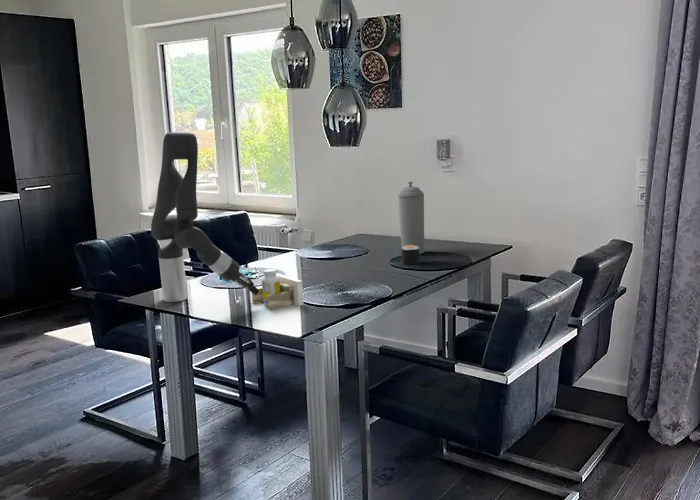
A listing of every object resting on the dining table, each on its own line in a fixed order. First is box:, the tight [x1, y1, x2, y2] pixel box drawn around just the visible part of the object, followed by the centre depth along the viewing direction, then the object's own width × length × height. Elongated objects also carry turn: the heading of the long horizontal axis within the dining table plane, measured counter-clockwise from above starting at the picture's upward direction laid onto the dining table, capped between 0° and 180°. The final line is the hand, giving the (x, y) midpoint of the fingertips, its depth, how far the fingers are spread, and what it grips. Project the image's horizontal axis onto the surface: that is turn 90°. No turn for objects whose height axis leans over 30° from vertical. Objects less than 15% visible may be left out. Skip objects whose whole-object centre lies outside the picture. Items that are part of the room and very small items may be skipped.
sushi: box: [401, 245, 420, 266], centre depth 309 cm, size 8×8×8 cm
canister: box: [397, 181, 425, 255], centre depth 328 cm, size 13×13×35 cm
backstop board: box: [276, 273, 304, 306], centre depth 255 cm, size 20×2×9 cm, turn 35°
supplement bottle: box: [261, 268, 281, 307], centre depth 251 cm, size 7×7×13 cm
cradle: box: [251, 282, 295, 311], centre depth 252 cm, size 14×10×7 cm
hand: (256, 292), depth 248 cm, fingers closed
